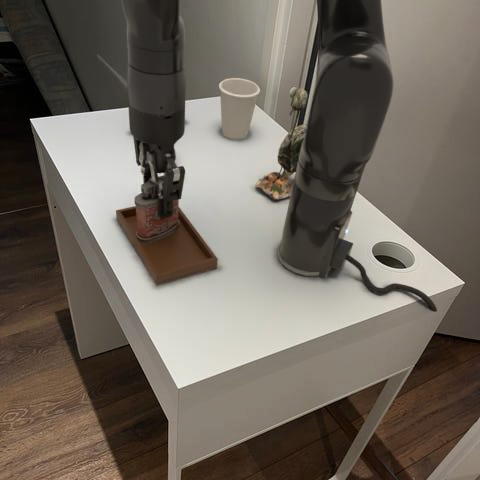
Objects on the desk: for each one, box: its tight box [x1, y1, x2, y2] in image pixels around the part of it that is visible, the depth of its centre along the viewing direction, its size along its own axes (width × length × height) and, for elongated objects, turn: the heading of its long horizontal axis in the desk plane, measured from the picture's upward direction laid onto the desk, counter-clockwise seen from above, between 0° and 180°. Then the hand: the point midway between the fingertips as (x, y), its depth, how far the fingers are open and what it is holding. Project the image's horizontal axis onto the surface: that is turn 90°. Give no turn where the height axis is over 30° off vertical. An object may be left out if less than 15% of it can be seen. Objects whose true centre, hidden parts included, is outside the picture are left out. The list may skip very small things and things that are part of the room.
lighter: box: [133, 174, 180, 243], centre depth 79 cm, size 8×3×10 cm, turn 135°
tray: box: [115, 205, 218, 286], centre depth 81 cm, size 17×10×2 cm, turn 29°
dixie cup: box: [218, 77, 261, 141], centre depth 105 cm, size 8×8×10 cm
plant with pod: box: [254, 87, 308, 201], centre depth 89 cm, size 8×11×20 cm
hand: (158, 205), depth 78 cm, fingers open, 5 cm apart
